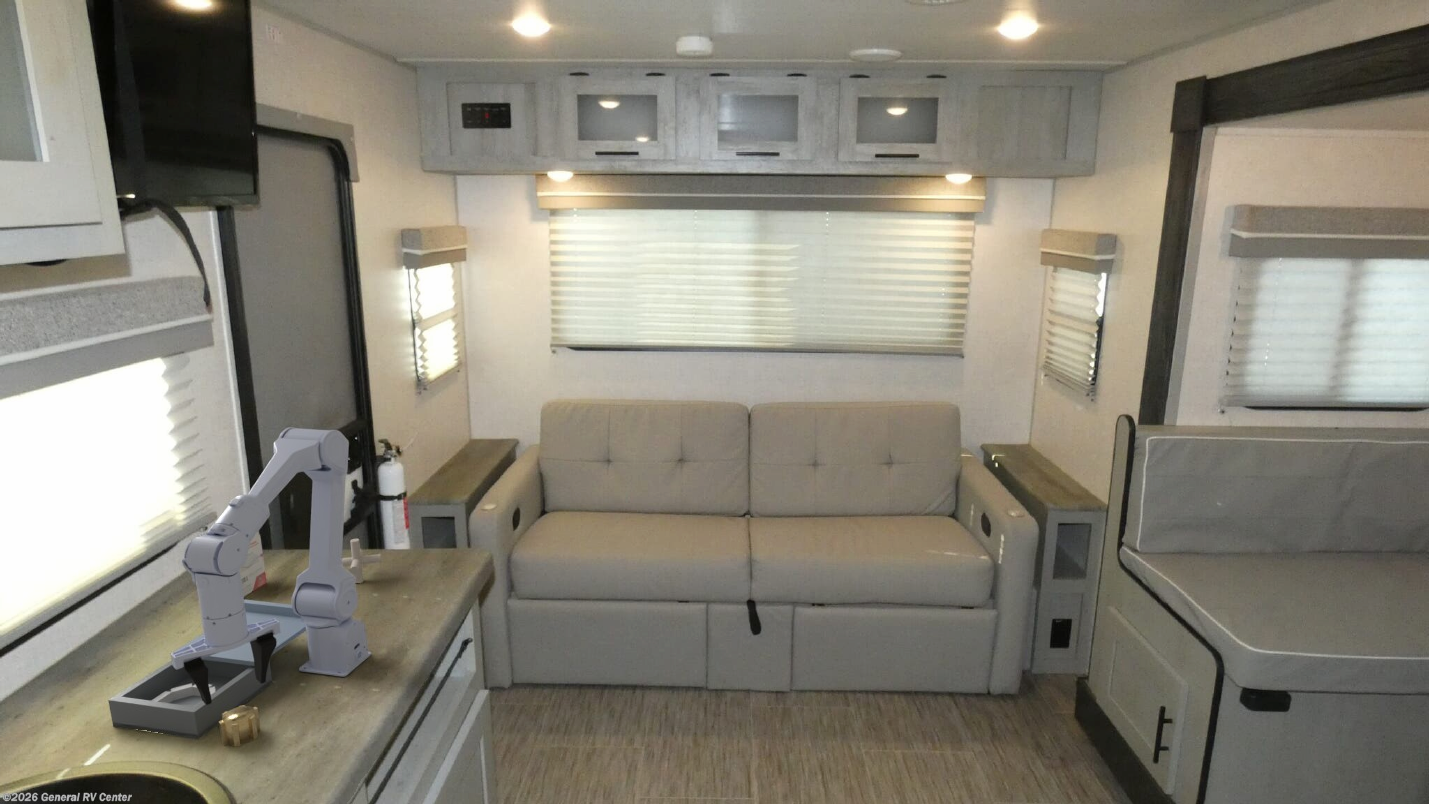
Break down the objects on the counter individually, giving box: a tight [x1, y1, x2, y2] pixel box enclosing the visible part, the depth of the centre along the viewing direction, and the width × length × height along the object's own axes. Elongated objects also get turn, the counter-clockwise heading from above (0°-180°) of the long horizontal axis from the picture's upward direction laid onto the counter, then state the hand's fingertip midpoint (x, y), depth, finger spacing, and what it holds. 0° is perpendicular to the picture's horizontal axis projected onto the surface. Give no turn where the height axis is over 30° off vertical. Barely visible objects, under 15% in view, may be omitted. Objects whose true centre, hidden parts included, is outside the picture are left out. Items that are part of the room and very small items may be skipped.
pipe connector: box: [342, 538, 382, 584], centre depth 180 cm, size 10×10×10 cm
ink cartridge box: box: [240, 530, 268, 597], centre depth 175 cm, size 9×5×15 cm, turn 168°
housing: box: [107, 659, 273, 740], centre depth 135 cm, size 16×16×5 cm
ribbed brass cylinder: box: [218, 704, 261, 748], centre depth 127 cm, size 5×5×4 cm
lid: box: [173, 599, 306, 666], centre depth 147 cm, size 16×16×3 cm
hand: (234, 691), depth 125 cm, fingers open, 7 cm apart
